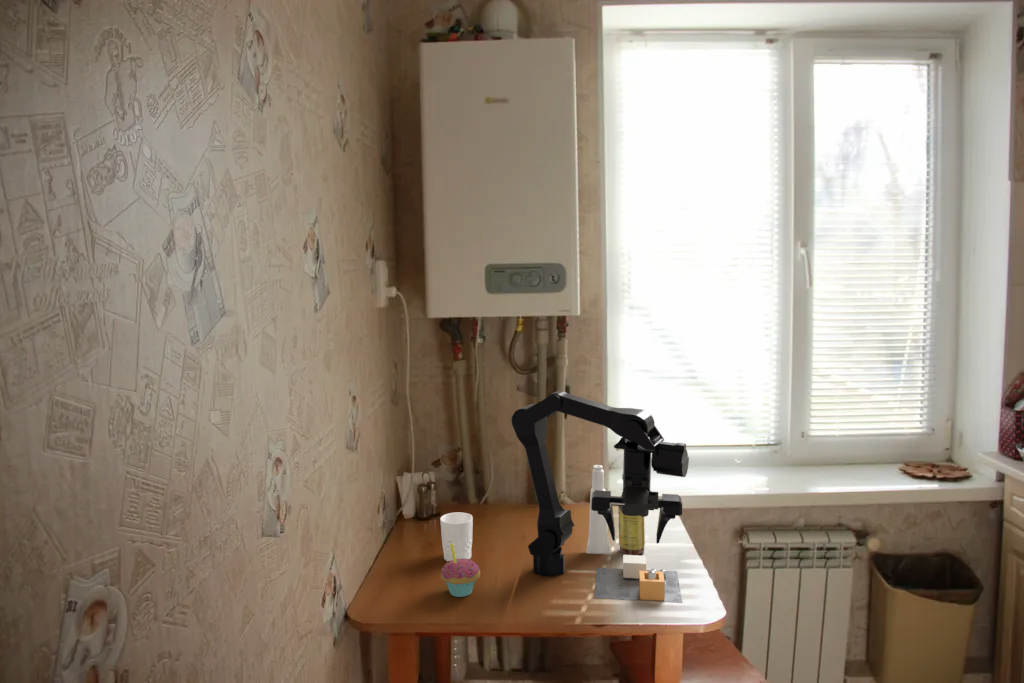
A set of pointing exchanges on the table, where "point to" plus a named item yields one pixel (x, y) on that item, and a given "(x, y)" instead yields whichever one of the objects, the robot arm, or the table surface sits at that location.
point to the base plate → (633, 585)
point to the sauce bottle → (631, 532)
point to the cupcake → (460, 575)
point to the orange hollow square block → (651, 586)
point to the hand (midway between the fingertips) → (635, 541)
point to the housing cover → (633, 565)
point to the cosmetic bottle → (597, 519)
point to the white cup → (457, 534)
